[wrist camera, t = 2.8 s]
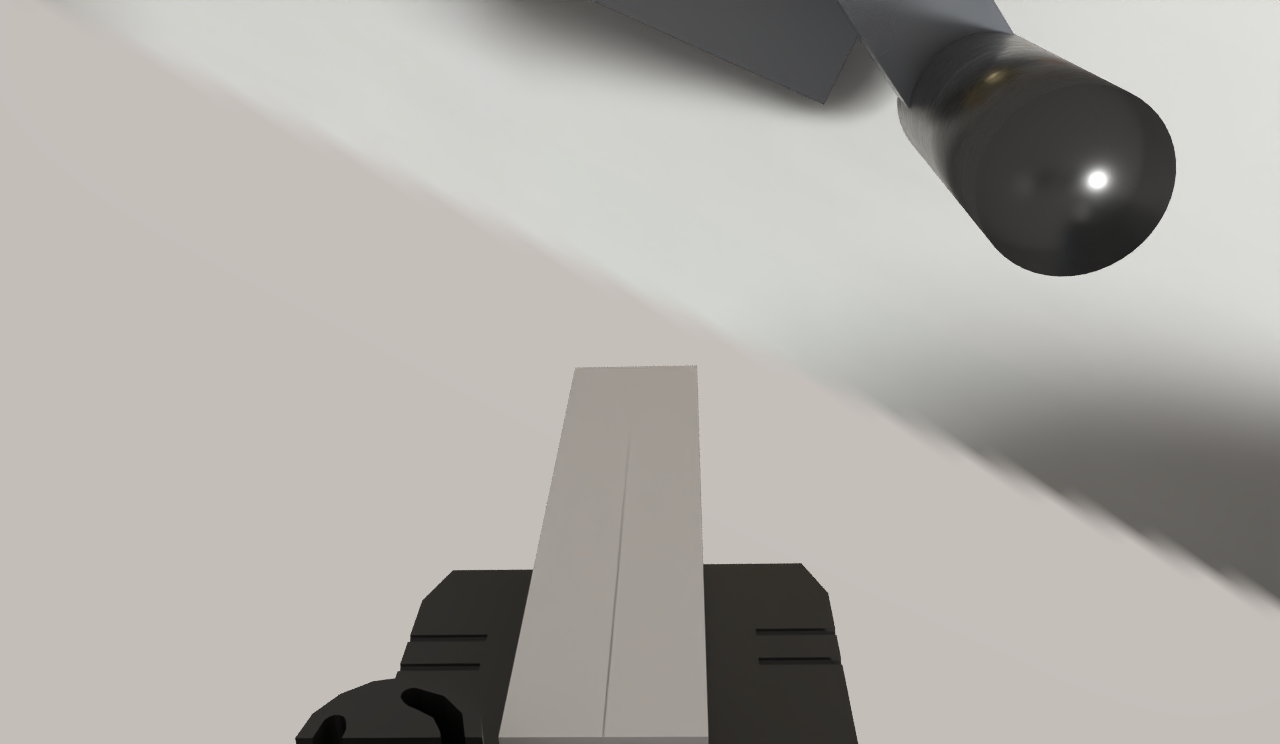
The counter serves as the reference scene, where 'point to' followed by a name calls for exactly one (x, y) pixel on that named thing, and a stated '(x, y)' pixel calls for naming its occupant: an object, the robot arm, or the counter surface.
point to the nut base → (758, 36)
